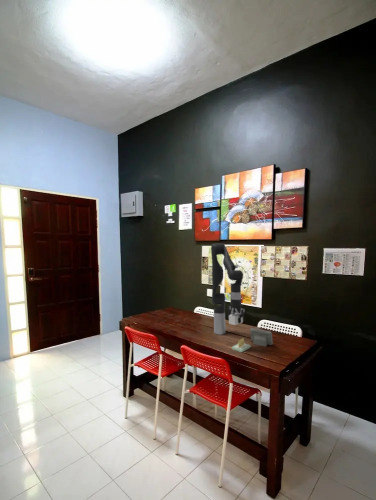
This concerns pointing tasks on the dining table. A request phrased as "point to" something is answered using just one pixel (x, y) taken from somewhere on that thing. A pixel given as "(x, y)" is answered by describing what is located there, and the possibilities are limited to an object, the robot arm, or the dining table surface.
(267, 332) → the digital clock
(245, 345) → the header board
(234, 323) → the plug housing
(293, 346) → the dining table surface
